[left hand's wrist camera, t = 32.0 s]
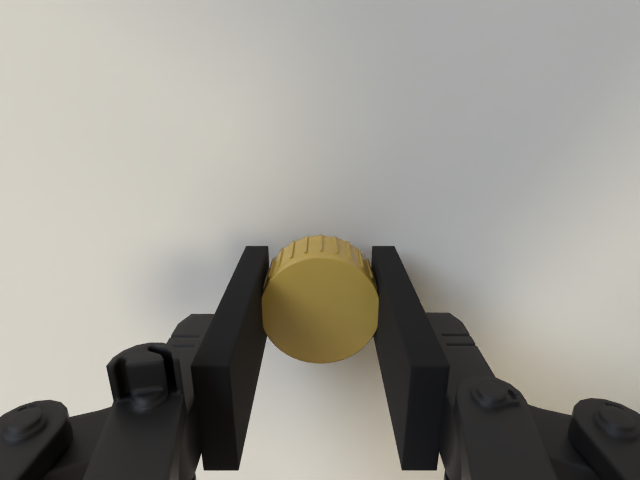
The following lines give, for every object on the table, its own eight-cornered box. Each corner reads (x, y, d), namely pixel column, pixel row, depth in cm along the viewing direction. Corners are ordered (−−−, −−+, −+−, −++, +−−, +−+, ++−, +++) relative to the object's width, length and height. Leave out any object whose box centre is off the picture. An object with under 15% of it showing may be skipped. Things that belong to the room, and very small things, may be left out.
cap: (338, 212, 14) (342, 231, 12) (394, 300, 15) (404, 330, 13) (244, 268, 14) (233, 295, 12) (304, 348, 15) (301, 383, 14)
